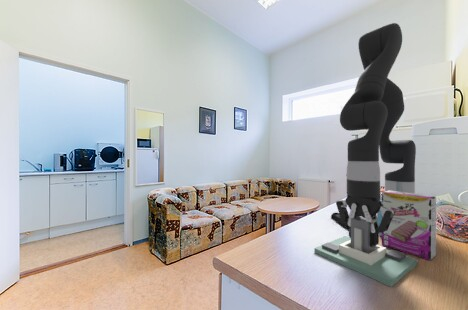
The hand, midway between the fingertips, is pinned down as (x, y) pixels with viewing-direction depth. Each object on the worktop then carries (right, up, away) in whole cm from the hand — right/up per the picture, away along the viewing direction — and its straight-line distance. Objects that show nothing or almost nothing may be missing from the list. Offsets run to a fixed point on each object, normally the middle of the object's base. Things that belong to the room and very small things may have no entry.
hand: (363, 242), depth 54 cm
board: (0, -4, 0) cm, 4 cm away
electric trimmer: (+10, -5, +28) cm, 30 cm away
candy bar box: (+15, -4, +4) cm, 16 cm away
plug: (0, -2, 0) cm, 2 cm away
